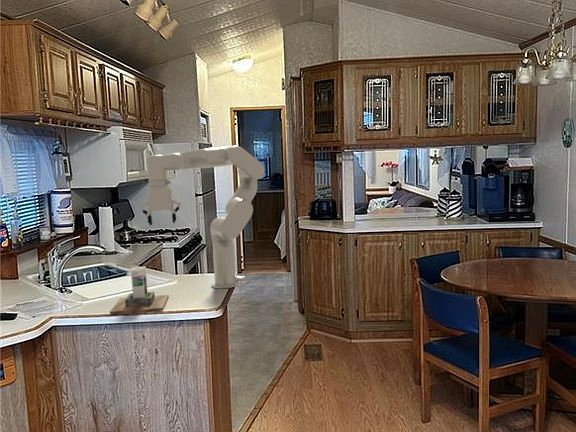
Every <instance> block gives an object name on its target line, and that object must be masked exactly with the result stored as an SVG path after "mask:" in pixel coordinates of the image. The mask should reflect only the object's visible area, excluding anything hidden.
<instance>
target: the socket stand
mask: <svg viewBox="0 0 576 432" xmlns="http://www.w3.org/2000/svg"><path fill="white" fill-rule="evenodd" d="M169 297H170V295H169V294H162V295H155V291H148V297H146V298H133V292H131V293H129V294H128V295H127V297H120V298H119V300H118V301H117V302H116V303H115V305H114V306H113V307H112V308H111V309H110V310H109V315H110V316H111V315H112V316H113V315H114V316H115V315H124V314H125V315H126V314H138V313H139V314H140V313H150V312H163V311H164V309H165V307H166V305H167V303H168V300H169Z"/></svg>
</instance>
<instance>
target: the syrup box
mask: <svg viewBox="0 0 576 432" xmlns="http://www.w3.org/2000/svg"><path fill="white" fill-rule="evenodd" d="M146 268H147V267H146V265H145V266H138V267H137V266H136V267H131V268H130V277H131V287H132V293H133V298H146V297H148V292H149V291H148V281H147V269H146Z"/></svg>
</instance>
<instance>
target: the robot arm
mask: <svg viewBox="0 0 576 432" xmlns="http://www.w3.org/2000/svg"><path fill="white" fill-rule="evenodd" d="M263 165H264V164H262V162H261V161H259V160H258V159H257V158H255V157H254V156H253V155H252V154H250V153H249V152H248V151H247V150H246V149H244V148H243V147H241V146H239V145H230V146H219V147H208V148H202V149H201V148H200V149H196V150H190V151H182V152H173V153H171V152H170V153H166V154H153V155H148V156H147V157H146V166H147V167H146V168H147V176H148V185H149V186H148V189H147V201H146V202H144V203H143V204H141V205H140V206H139V209H140V210H141V211H142V213H143V214H144V215H146V217H147V223H148V224H149V226H153V217H152V212H160V211H162V212H163V211H170V212H171V213H172V214H171V216H172V217H171V218H172V223H173V224H175V223H176V221H177V215H176V214H177V212H178V211H179V210H180V208H181V206H182V202H181V201H178V200H175V199H173V195H172V191H171V187H170V186H168V185H170V184H172V183H171V180H169V179H168V177H167V176H168V175H167V171H171V172H172V171H173V172H174V171H176V172H177V171H180V170H186V169H188V170H190V169H209V168H217V167H225V166H226V167H227V166H235V167H236V168H237V172H238V176H239V185H238V187H237V188H236V191H235V192H234V193H233V195H232V197H231V198H230V199H229V200H228V202H227V204H226V205H225V209H224V211H225V214H226V215H227V216H226V217H225V216H218V217H216V218H214V219H213V220H212V221H211V223H210V227H209V230H210V236H211V237H210V238H211V242H212V256H213V259H212V260H213V272H214V273H213V275H214V282H212V283H211V287H212V288H213V289H231V288H235V287H237V286H239V285H240V282H245V281H246V276H243V275H242V276H238V275H237V274H236V265H235V248H234V245H235V244H234V240H235V239H236V238H238V236H239V235H240V234H241V232H242V231H243V230H244V229H245V227H246V226H247V224H248V222H249V221H250V219H251V218H252V215H253V212H254V207H253V204H252V201H253V199H254V197H255V196H256V194H257V191H258V180H260V179H262V178H263V176H264V174H265V167H264V166H263ZM174 204H175V205H176V207H175V209H174ZM147 206H148V211H147V210H146V208H145V207H147Z"/></svg>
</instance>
